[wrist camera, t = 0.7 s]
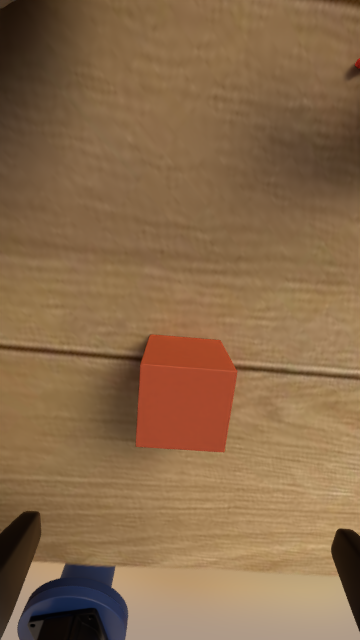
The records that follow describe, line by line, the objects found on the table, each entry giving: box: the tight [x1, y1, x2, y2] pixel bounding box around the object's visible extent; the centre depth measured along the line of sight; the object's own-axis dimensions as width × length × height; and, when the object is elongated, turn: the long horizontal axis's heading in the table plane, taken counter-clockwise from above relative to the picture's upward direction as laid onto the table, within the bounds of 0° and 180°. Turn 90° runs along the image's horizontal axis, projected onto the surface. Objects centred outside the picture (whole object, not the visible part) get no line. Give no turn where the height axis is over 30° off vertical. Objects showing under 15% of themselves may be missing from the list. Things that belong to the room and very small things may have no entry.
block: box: [136, 335, 237, 452], centre depth 16 cm, size 5×5×5 cm
